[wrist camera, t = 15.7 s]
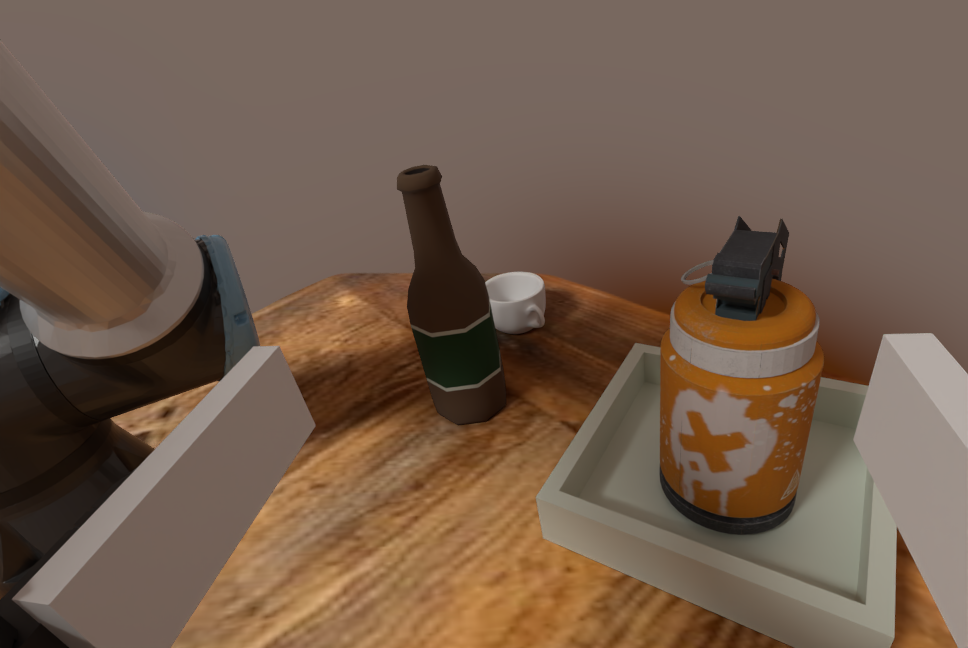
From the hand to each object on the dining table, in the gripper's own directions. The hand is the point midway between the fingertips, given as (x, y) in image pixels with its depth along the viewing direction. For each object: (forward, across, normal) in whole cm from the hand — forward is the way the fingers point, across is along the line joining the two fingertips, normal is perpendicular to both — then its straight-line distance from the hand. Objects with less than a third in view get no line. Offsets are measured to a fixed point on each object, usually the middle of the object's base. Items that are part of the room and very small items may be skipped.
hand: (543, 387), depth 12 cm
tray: (+20, +8, -26) cm, 34 cm away
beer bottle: (+30, -14, -27) cm, 42 cm away
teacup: (+43, -10, -27) cm, 52 cm away
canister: (+20, +9, -26) cm, 34 cm away
